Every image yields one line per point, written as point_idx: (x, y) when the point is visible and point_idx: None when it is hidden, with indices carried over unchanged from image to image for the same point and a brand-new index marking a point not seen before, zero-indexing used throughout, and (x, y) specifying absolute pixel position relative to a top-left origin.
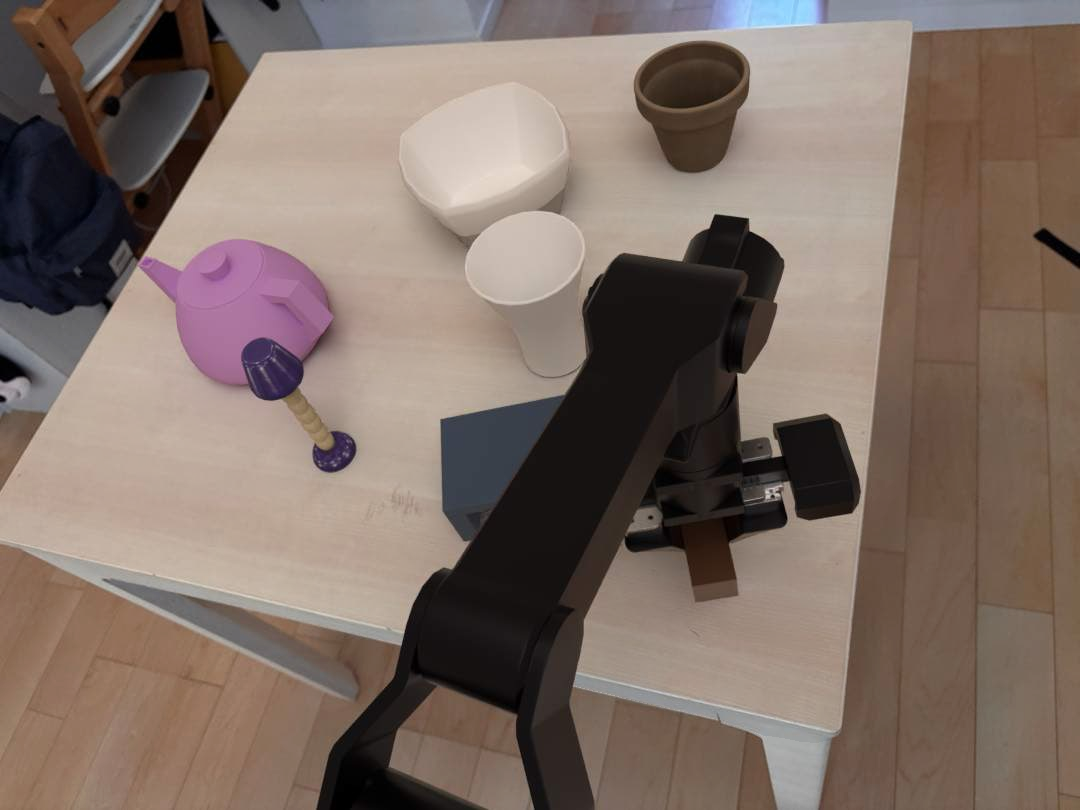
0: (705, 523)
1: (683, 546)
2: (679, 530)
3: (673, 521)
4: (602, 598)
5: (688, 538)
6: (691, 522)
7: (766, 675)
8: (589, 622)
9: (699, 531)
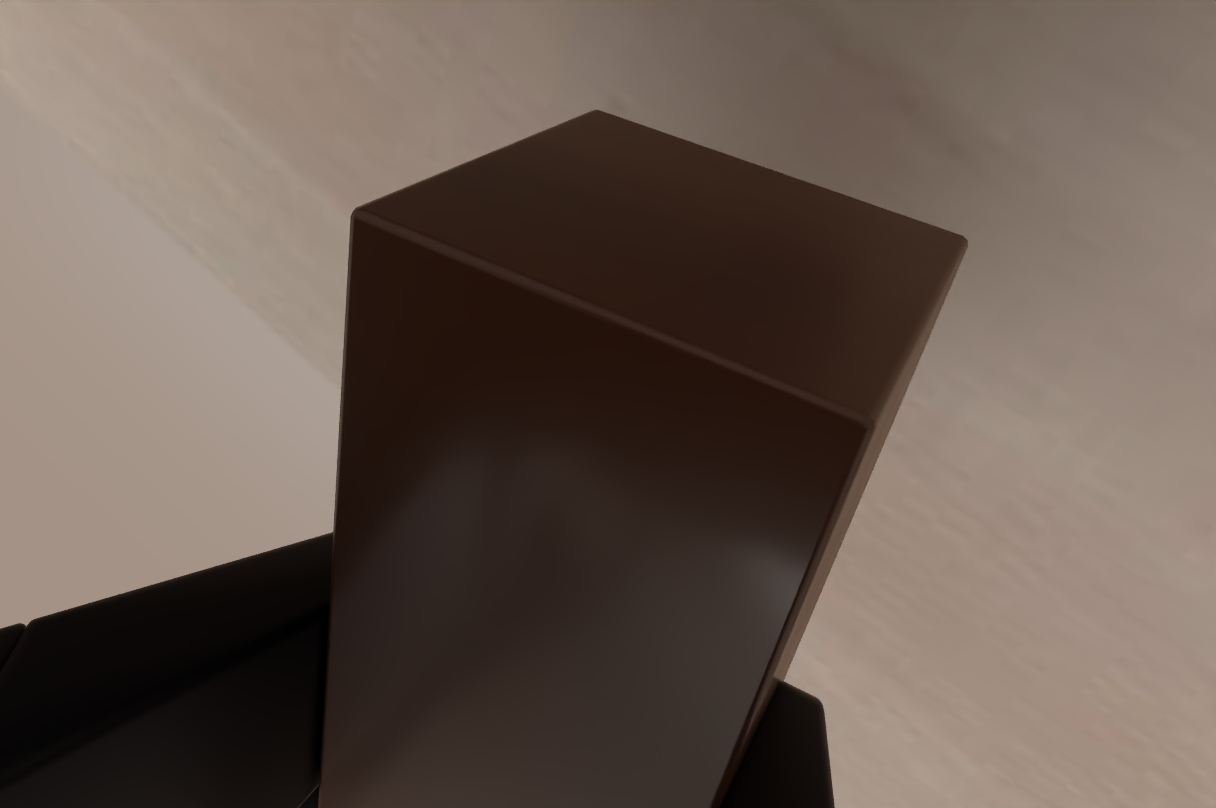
0: (525, 778)
1: (308, 783)
2: (262, 739)
3: None
4: (378, 122)
5: (361, 762)
6: (419, 686)
7: (840, 716)
8: (316, 193)
9: (456, 785)
